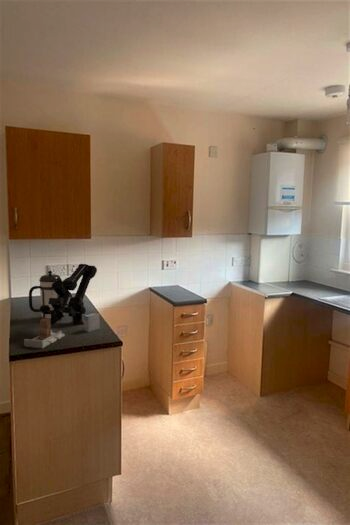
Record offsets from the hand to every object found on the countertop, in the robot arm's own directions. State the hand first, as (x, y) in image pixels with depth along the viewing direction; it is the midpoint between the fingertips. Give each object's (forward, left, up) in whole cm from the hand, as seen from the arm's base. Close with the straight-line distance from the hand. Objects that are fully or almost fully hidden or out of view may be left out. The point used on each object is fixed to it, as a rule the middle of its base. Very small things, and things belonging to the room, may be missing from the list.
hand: (51, 324), depth 199 cm
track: (+5, -4, -7) cm, 9 cm away
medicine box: (-4, +22, -7) cm, 23 cm away
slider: (+5, -4, -5) cm, 8 cm away
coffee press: (-36, +3, -7) cm, 37 cm away
